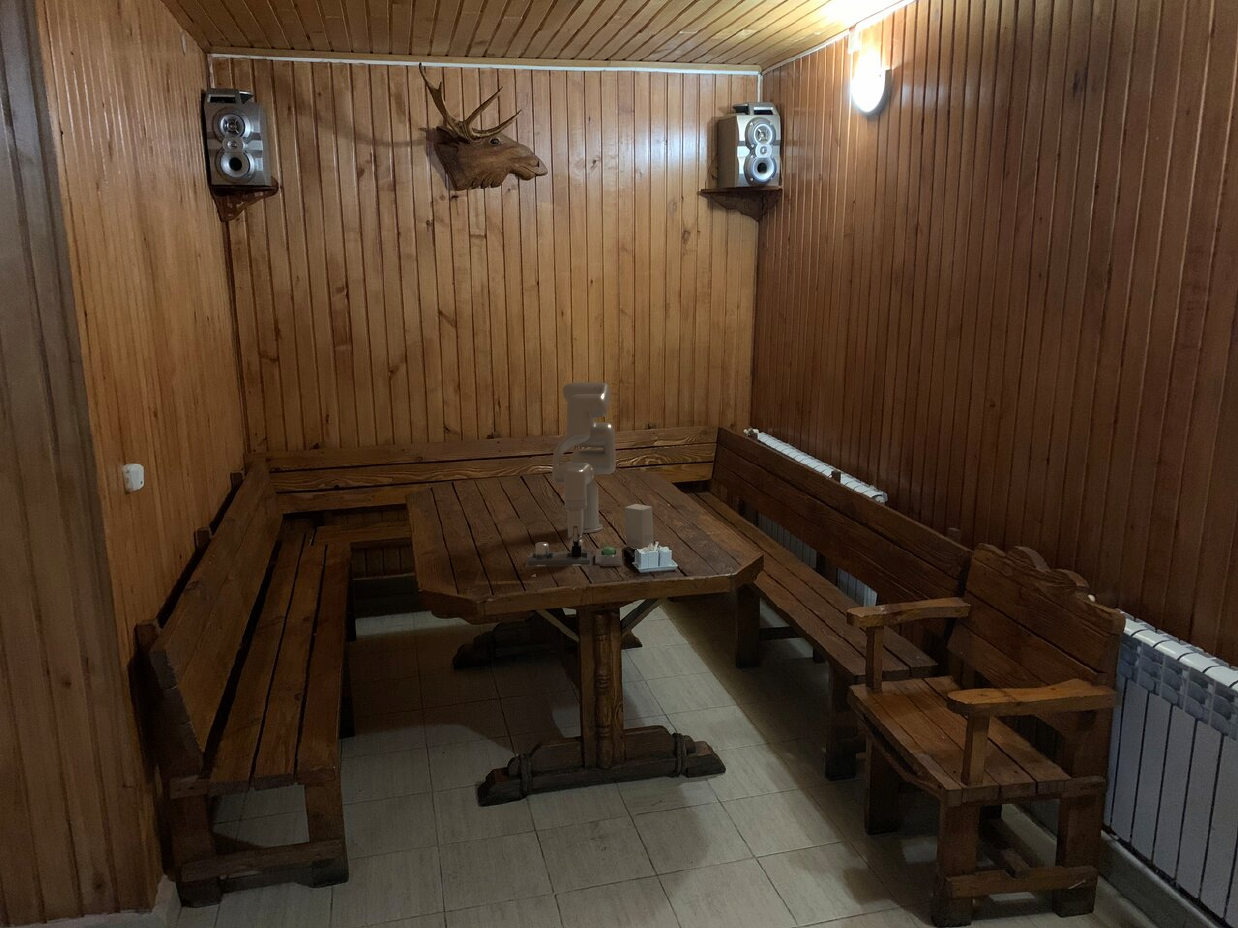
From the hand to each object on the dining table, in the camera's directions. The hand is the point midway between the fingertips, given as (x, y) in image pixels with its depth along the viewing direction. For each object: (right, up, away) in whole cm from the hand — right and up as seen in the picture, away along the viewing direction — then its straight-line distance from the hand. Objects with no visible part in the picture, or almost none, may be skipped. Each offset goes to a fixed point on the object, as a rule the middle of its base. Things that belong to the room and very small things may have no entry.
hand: (577, 554), depth 311 cm
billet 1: (-12, -2, 0) cm, 12 cm away
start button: (+11, -1, 0) cm, 11 cm away
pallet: (-6, -3, +1) cm, 7 cm away
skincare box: (+22, 0, +16) cm, 27 cm away
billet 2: (0, -1, 0) cm, 1 cm away
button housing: (+11, -3, +1) cm, 11 cm away
